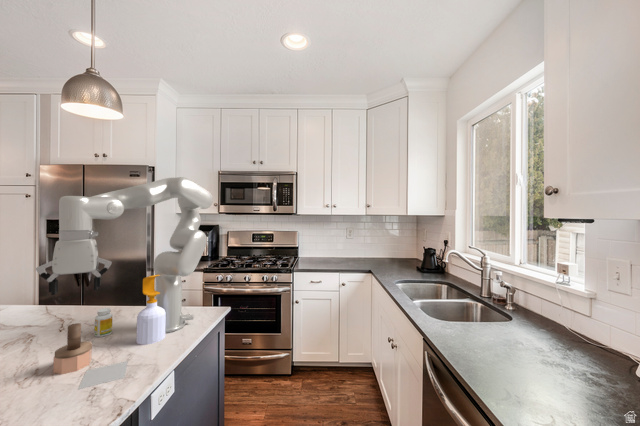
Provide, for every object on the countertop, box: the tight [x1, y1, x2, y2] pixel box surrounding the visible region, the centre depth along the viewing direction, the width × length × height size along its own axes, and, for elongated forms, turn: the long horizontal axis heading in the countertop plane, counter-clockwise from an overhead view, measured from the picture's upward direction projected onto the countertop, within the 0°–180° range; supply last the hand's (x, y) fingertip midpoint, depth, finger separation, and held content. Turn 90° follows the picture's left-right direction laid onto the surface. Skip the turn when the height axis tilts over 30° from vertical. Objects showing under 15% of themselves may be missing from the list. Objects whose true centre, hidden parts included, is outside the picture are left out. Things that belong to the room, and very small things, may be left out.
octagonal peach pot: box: [52, 347, 93, 375], centre depth 81 cm, size 8×8×5 cm
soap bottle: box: [136, 275, 166, 346], centre depth 99 cm, size 9×9×25 cm
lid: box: [53, 322, 93, 359], centre depth 81 cm, size 8×8×8 cm
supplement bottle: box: [93, 307, 113, 338], centre depth 104 cm, size 5×5×10 cm
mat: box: [77, 360, 129, 390], centre depth 77 cm, size 10×10×1 cm
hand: (76, 291), depth 82 cm, fingers open, 9 cm apart
